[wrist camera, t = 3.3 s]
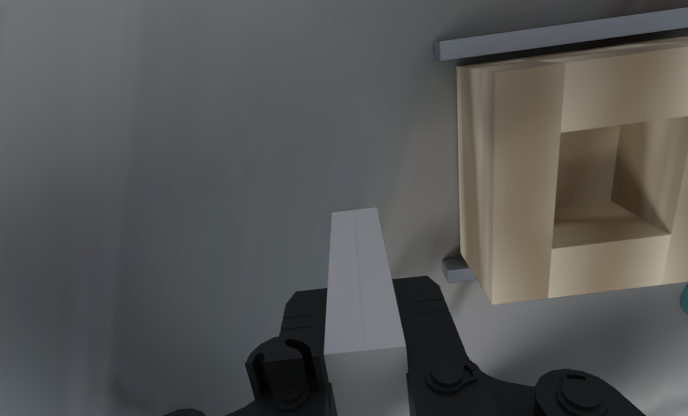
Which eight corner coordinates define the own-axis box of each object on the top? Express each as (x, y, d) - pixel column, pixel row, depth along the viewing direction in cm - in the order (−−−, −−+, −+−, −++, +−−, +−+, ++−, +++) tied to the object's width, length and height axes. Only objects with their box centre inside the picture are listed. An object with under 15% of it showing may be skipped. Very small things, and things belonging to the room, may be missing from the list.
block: (460, 252, 23) (492, 304, 18) (456, 66, 19) (495, 72, 14) (640, 230, 22) (718, 277, 18) (672, 37, 18) (781, 34, 14)
